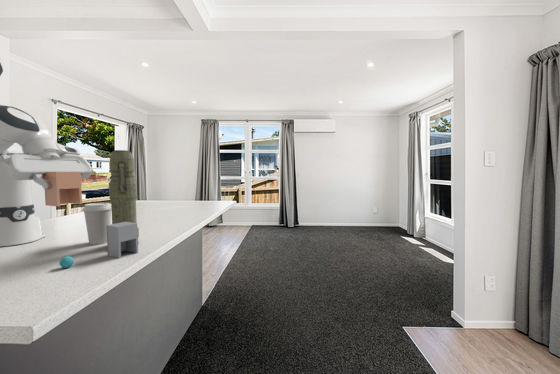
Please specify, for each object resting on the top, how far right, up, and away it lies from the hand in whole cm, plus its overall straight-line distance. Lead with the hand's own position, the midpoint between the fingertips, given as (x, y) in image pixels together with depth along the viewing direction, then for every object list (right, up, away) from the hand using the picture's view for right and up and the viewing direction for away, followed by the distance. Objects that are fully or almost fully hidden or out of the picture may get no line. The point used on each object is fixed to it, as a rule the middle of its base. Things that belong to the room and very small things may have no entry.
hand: (64, 187), depth 79 cm
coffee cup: (-5, -22, +22) cm, 32 cm away
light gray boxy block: (+13, -22, +9) cm, 27 cm away
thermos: (+7, -22, +19) cm, 30 cm away
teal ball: (+4, -22, -4) cm, 22 cm away
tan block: (-1, -5, +1) cm, 5 cm away
